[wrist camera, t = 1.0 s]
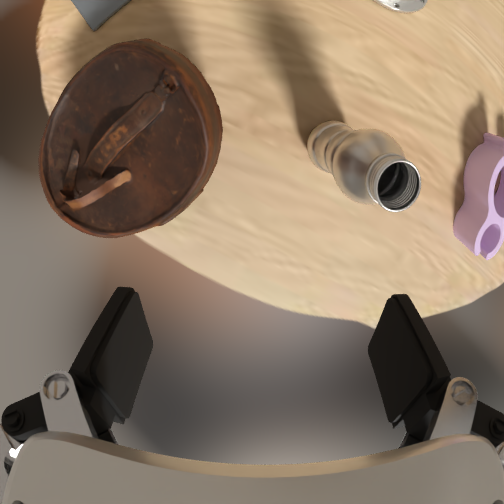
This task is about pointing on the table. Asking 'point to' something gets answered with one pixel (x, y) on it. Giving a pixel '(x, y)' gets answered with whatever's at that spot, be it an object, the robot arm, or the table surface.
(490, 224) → the clip
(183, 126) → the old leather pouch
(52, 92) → the table surface
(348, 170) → the plastic bottle
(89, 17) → the mat
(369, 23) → the table surface
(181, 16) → the table surface
